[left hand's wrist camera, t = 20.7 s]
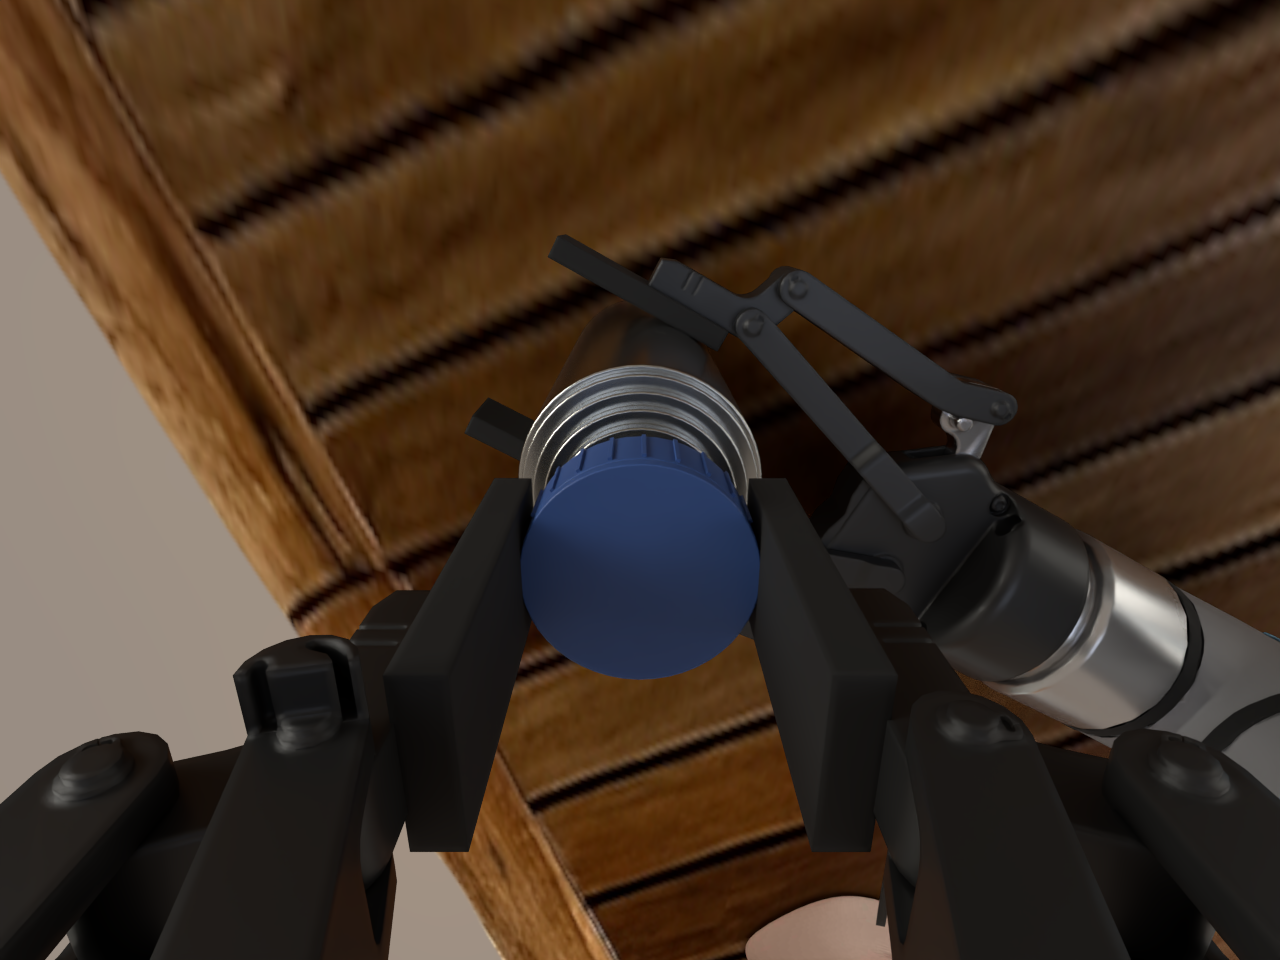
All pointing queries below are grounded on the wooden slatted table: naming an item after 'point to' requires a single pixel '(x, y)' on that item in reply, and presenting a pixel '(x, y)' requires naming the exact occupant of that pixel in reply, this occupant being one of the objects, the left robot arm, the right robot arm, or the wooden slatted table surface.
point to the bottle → (639, 399)
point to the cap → (640, 559)
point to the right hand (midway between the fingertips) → (516, 334)
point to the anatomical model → (824, 933)
